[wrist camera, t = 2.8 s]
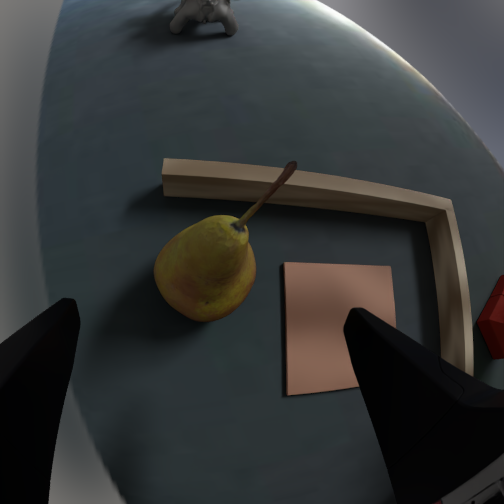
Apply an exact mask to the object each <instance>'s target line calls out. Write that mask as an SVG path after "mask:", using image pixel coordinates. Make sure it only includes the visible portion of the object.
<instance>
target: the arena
mask: <svg viewBox="0 0 504 504" xmlns="http://www.w3.org/2000/svg"><path fill="white" fill-rule="evenodd" d="M283 170H284V169H283V168H275V167H267V166H258V165H248V164H238V163H226V162H214V161H201V160H185V159H165V158H164V163H163V169H162V181H163V191H164V196H172V197H191V198H207V199H222V200H235V201H248V202H257V201H258V200H259V199H260V198H261V197H262V196H263V194H264V193H265V192H266V191H267V190H268V188H269V187H270V186H271V185H272V183H273V182H275V181H276V180H277V178H278V177H279V176H280V175H281V173H282V172H283ZM265 203H271V204H282V205H293V206H302V207H312V208H321V209H330V210H339V211H347V212H355V213H363V214H371V215H379V216H386V217H393V218H400V219H407V220H414V221H420V222H425V223H426V228H427V233H428V238H429V243H430V249H431V255H432V261H433V268H434V275H435V283H436V291H437V301H438V311H439V324H440V343H441V358H443V359H444V360H446V361H447V362H449V363H450V364H452V365H454V366H455V367H457V368H459V369H460V370H462V371H464V372H466V373H467V374H469V375H471V376H473V333H472V319H471V307H470V298H469V289H468V282H467V275H466V268H465V262H464V256H463V251H462V246H461V240H460V236H459V231H458V226H457V222H456V218H455V214H454V210H453V206H452V202H451V200H450V199H446V198H442V197H438V196H434V195H430V194H425V193H421V192H417V191H412V190H408V189H403V188H398V187H393V186H388V185H383V184H378V183H373V182H368V181H362V180H357V179H351V178H345V177H339V176H333V175H326V174H320V173H313V172H306V171H299V170H295V171H294V173H293V174H292V176H291V177H290V178H289V179H288V180H287V181H286V182H285V183H284V184H283V185H282V186H280V187H279V188H278V189H277V190H276V192H275V193H274V194H273V195H272V196H271V197H270V198H269V199H268V200H267V201H266V202H265ZM283 267H284V296H285V332H286V395H296V394H306V393H315V392H324V391H331V390H339V389H346V388H352V387H358V386H359V384H358V382H357V379H356V376H355V373H354V370H353V367H352V364H351V360H350V356H349V352H348V348H347V344H346V340H345V337H344V333H343V327H344V324H345V321H346V319H347V316H348V313H349V311H350V309H351V308H354V307H362V308H364V309H366V310H367V311H369V312H371V313H372V314H374V315H375V316H377V317H379V318H380V319H382V320H383V321H385V322H386V323H388V324H390V325H391V326H393V327H394V328H396V320H395V306H394V294H393V284H392V275H391V267H390V266H369V265H343V264H318V263H295V262H284V263H283Z"/></svg>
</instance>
